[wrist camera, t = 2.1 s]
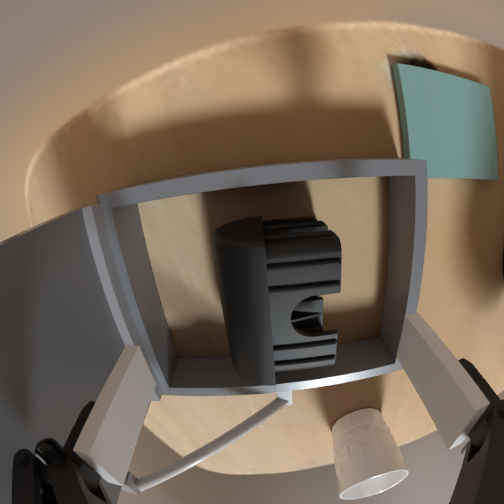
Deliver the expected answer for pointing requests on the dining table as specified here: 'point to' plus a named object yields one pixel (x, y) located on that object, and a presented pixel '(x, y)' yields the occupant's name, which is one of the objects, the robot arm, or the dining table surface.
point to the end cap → (277, 293)
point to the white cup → (365, 455)
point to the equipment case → (151, 312)
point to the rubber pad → (447, 123)
